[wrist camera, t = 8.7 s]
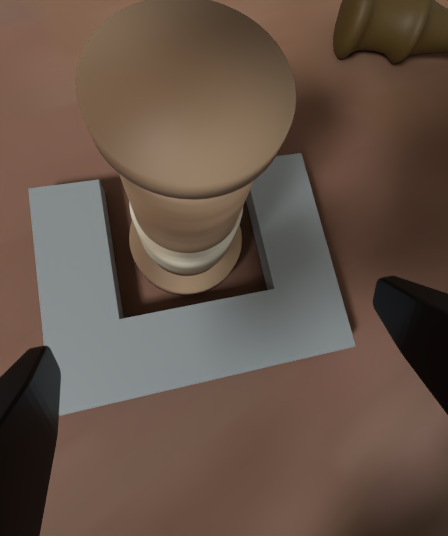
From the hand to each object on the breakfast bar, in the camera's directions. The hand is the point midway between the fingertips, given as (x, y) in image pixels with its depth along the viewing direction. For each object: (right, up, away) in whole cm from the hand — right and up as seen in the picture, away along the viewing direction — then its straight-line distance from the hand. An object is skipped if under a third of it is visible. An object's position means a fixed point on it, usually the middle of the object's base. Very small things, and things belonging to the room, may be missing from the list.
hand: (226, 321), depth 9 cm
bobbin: (-2, +3, +11) cm, 12 cm away
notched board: (-2, +1, +11) cm, 11 cm away
